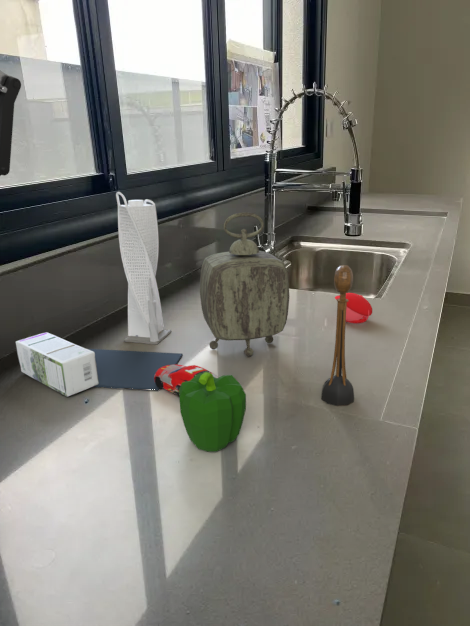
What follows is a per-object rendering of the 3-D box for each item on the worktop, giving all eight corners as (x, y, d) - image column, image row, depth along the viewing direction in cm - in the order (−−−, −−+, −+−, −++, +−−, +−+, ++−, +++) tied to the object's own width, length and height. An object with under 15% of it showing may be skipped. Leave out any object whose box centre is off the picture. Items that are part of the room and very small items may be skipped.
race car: (148, 384, 77) (146, 360, 76) (174, 373, 81) (174, 350, 80) (206, 414, 69) (206, 388, 68) (233, 400, 73) (233, 376, 71)
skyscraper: (117, 340, 97) (102, 193, 88) (136, 327, 104) (124, 189, 95) (157, 344, 94) (146, 193, 86) (173, 330, 102) (164, 189, 93)
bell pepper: (210, 416, 69) (207, 349, 65) (258, 436, 64) (257, 365, 60) (165, 443, 62) (160, 371, 59) (214, 468, 57) (211, 390, 54)
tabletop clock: (275, 339, 96) (277, 208, 88) (291, 357, 88) (295, 214, 80) (202, 347, 93) (196, 211, 85) (211, 366, 84) (206, 218, 76)
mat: (49, 384, 79) (49, 382, 79) (88, 350, 92) (88, 348, 92) (158, 391, 76) (158, 388, 76) (182, 355, 89) (182, 353, 89)
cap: (372, 317, 107) (374, 291, 105) (370, 327, 102) (372, 298, 100) (335, 314, 110) (336, 288, 108) (331, 323, 104) (332, 295, 102)
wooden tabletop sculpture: (322, 386, 77) (327, 259, 70) (353, 388, 76) (361, 259, 69) (320, 404, 71) (326, 268, 65) (354, 407, 70) (362, 269, 64)
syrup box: (95, 350, 76) (47, 330, 85) (60, 363, 72) (14, 340, 81) (99, 384, 78) (52, 361, 87) (65, 398, 73) (19, 372, 83)
